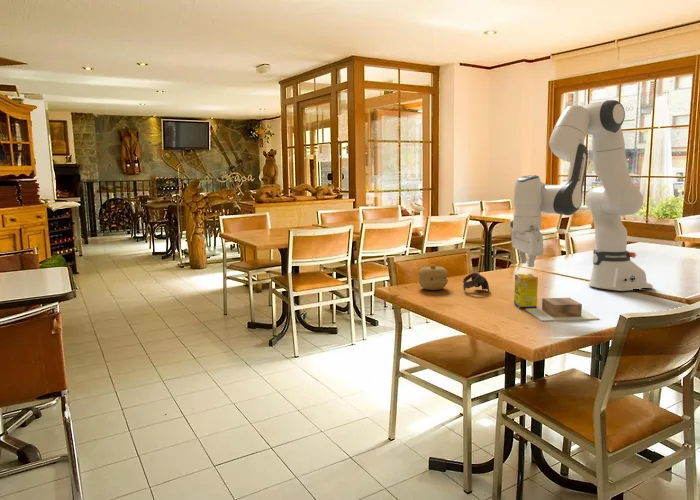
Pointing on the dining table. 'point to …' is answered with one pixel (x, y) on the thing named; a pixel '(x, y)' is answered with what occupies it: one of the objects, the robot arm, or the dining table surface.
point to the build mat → (546, 317)
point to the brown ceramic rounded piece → (475, 281)
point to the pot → (433, 277)
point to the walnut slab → (561, 307)
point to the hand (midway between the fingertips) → (526, 265)
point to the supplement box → (525, 291)
